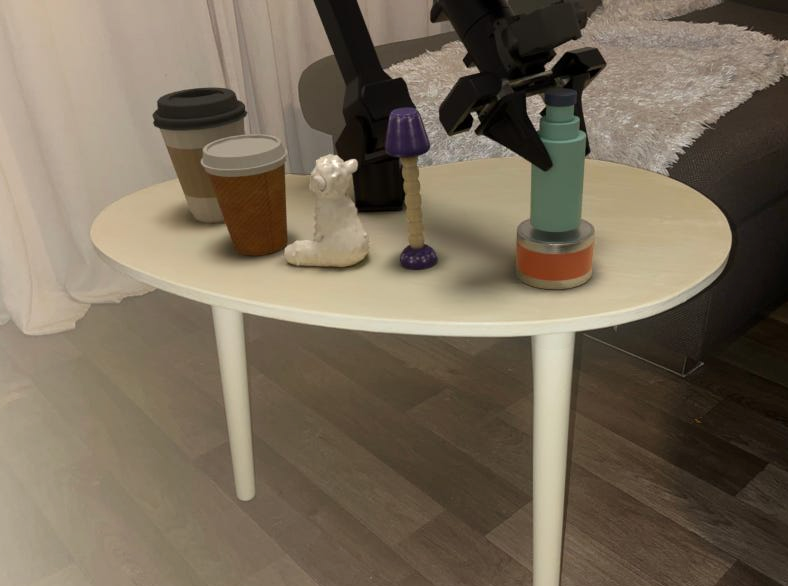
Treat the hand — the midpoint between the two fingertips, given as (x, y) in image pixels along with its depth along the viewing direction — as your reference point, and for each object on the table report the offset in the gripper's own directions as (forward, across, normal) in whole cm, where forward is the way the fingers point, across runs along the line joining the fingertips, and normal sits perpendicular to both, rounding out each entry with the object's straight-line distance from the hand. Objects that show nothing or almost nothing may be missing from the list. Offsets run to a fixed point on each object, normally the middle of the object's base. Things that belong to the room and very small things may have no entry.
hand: (568, 162), depth 74 cm
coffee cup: (-23, -17, +41) cm, 50 cm away
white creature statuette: (-6, -14, +24) cm, 29 cm away
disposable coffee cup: (-13, -18, +31) cm, 39 cm away
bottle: (+4, 0, +6) cm, 7 cm away
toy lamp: (-1, -9, +19) cm, 21 cm away
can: (+8, 0, +10) cm, 12 cm away
